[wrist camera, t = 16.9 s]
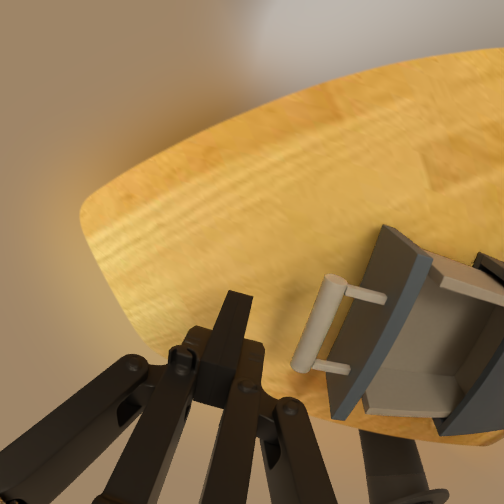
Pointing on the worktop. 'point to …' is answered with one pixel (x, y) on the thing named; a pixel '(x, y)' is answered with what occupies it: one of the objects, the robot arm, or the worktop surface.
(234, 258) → the worktop surface
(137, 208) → the worktop surface
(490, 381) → the cabinet
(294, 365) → the drawer
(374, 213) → the worktop surface
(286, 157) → the worktop surface
